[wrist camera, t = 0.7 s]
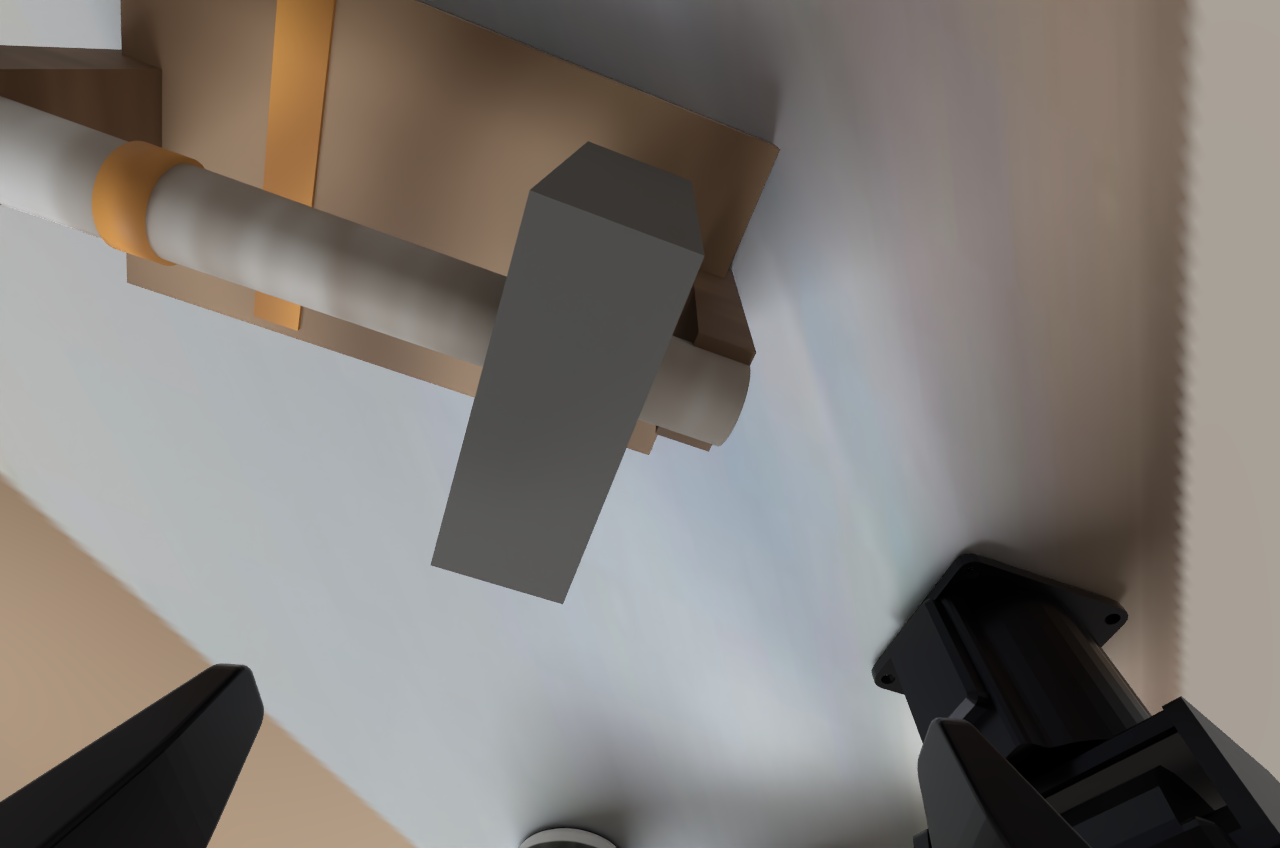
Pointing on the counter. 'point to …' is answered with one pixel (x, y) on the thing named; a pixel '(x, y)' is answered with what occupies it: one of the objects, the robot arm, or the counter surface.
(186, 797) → the robot arm
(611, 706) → the counter surface
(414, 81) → the pipe stand
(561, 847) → the supplement bottle
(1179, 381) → the counter surface
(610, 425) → the grey square collar
